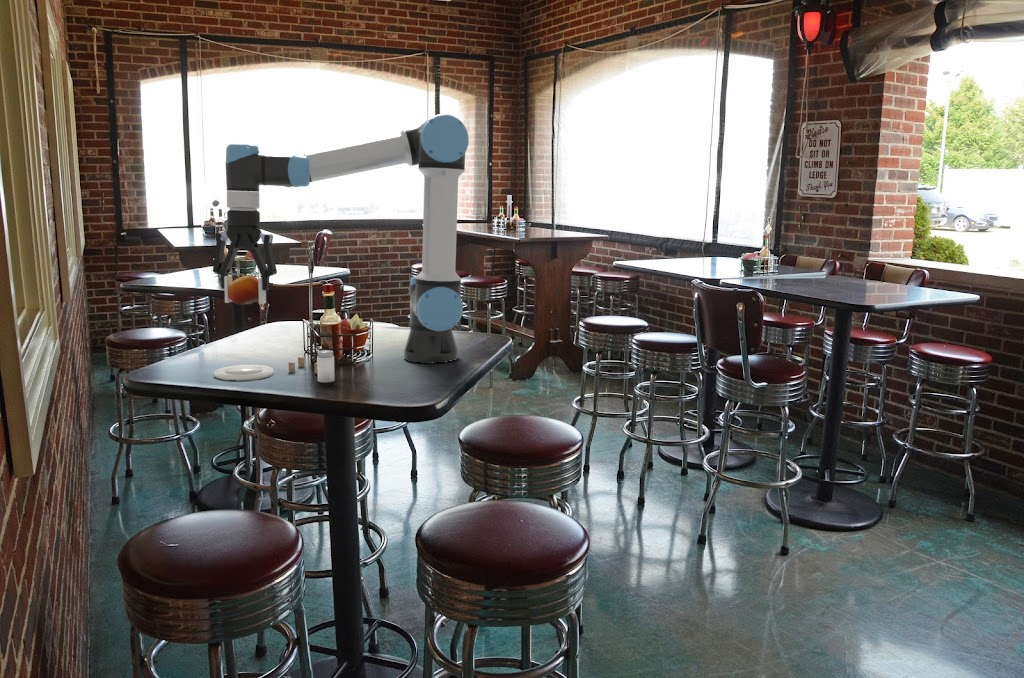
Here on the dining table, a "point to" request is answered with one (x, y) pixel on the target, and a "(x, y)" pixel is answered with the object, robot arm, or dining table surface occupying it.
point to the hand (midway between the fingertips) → (245, 302)
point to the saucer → (243, 372)
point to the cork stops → (299, 365)
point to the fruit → (244, 290)
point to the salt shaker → (325, 366)
